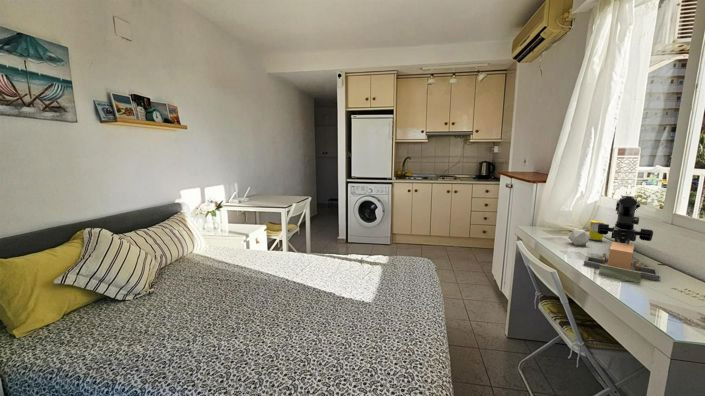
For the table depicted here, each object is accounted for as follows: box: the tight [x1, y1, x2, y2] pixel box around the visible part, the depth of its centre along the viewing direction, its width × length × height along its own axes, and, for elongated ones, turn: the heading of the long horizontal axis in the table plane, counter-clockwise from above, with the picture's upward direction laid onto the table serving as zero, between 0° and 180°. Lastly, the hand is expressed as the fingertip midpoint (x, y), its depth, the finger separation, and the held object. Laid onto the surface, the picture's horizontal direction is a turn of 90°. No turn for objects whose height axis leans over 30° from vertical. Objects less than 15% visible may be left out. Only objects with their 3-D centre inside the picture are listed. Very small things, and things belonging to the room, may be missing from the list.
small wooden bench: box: [598, 252, 642, 284], centre depth 123 cm, size 27×12×4 cm, turn 136°
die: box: [567, 229, 590, 246], centre depth 156 cm, size 8×9×10 cm
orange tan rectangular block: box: [607, 241, 635, 270], centre depth 125 cm, size 15×7×9 cm, turn 134°
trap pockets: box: [583, 255, 661, 282], centre depth 122 cm, size 9×23×2 cm, turn 46°
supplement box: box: [588, 219, 605, 243], centre depth 164 cm, size 6×6×11 cm
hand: (621, 246), depth 131 cm, fingers closed
